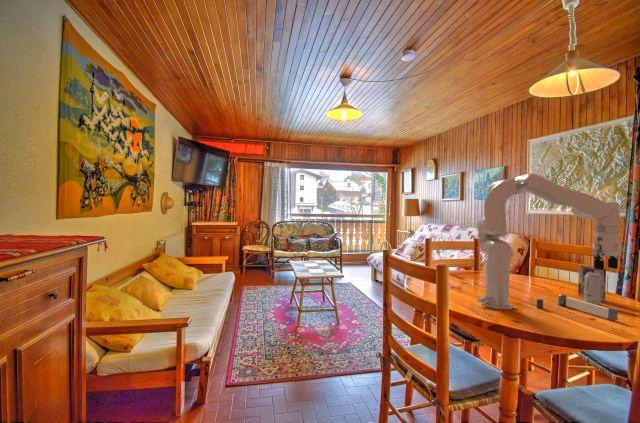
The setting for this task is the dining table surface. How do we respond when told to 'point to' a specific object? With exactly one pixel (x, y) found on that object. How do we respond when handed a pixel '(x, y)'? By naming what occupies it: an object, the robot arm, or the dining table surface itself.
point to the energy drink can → (592, 288)
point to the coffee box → (581, 280)
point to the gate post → (562, 300)
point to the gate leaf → (593, 308)
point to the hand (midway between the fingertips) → (605, 268)
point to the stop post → (539, 303)
